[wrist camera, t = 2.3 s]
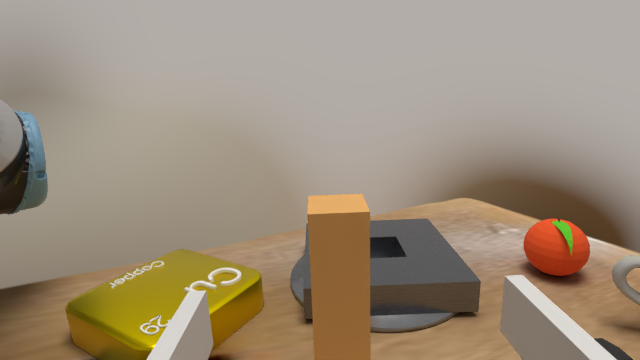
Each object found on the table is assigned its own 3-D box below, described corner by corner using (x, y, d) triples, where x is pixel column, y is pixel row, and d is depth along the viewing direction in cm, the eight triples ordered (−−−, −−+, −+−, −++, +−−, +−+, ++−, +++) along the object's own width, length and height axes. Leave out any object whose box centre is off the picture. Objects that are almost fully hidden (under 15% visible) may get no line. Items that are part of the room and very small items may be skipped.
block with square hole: (284, 337, 36) (281, 300, 35) (295, 243, 57) (293, 219, 56) (506, 328, 36) (510, 291, 35) (435, 238, 58) (436, 213, 57)
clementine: (601, 294, 41) (611, 235, 40) (533, 289, 43) (540, 232, 41) (571, 261, 49) (578, 210, 47) (514, 258, 50) (519, 208, 49)
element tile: (184, 275, 50) (180, 242, 49) (271, 305, 42) (268, 267, 41) (65, 340, 38) (54, 299, 36) (157, 400, 30) (147, 350, 29)
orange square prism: (317, 415, 28) (307, 214, 24) (316, 374, 31) (308, 195, 27) (370, 413, 28) (369, 211, 24) (363, 372, 31) (362, 193, 27)
